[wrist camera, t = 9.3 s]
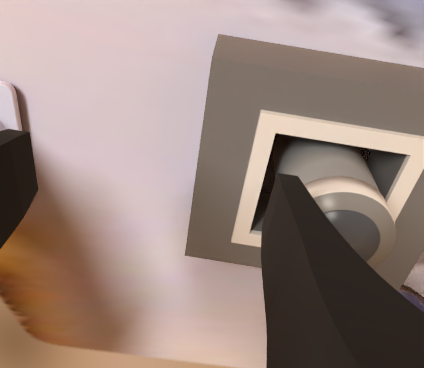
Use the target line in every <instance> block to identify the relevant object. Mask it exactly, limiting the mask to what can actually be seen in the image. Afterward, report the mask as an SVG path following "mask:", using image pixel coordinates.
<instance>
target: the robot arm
mask: <svg viewBox="0 0 424 368" xmlns="http://www.w3.org/2000/svg"><path fill="white" fill-rule="evenodd" d="M37 191H38V185H37V178H36V172H35V165H34V159H33V152H32V146H31V139H30V133H29V132H25V131H22V125H21V119H20V113H19V107H18V101H17V95H16V91H15V89H14V87H13V86H12V85H11V84H9V83H7V82H3V81H0V249H1V248H2V246H3V245H4V243H5V242H6V241H7V239H8V238H9V237H10V235H11V234H12V233H13V231H14V230H15V228H16V227H17V226H18V224H19V223H20V222H21V220H22V219H23V217H24V216H25V214H26V212H27V210H28V208H29V207H30V205H31V203H32V201H33V199H34V197H35V195H36V193H37ZM261 265H262V278H263V289H264V300H265V312H266V324H267V368H424V312H423V311H421V310H420V309H419V308H418V307H416V306H415V305H414V304H412V303H411V302H410V301H409V300H408V299H406V298H405V297H404V296H403V295H402V294H400V293H399V292H398V291H397V290H396V289H394V288H393V287H392V286H391V285H390V284H389V283H387V282H386V281H385V280H384V279H383V278H382V277H381V276H380V275H379V274H378V273H377V272H376V271H375V270H374V269H373V268H372V267H371V266H370V265H368V264H367V263H366V262H365V261H364V260H363V259H362V258H361V257H360V256H359V254H358V253H357V252H356V251H355V250H354V249H353V248H352V247H351V246H350V245H349V243H348V242H347V241H346V240H345V239H344V238H343V236H342V235H341V234H340V233H339V232H338V231H337V229H336V228H335V227H334V226H333V224H332V223H331V222H330V220H329V219H328V218H327V217H326V215H325V214H324V213H323V211H322V210H321V208H320V207H319V206H318V204H317V203H316V201H315V200H314V199H313V197H312V196H311V194H310V193H309V191H308V190H307V188H306V187H305V185H304V184H303V183H302V181H301V180H300V178H299V177H298V176H295V175H289V174H282V173H277V175H276V178H275V182H274V185H273V189H272V192H271V196H270V199H269V203H268V206H267V210H266V213H265V217H264V221H263V224H262V236H261Z"/></svg>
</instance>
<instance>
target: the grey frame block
mask: <svg viewBox="0 0 424 368" xmlns="http://www.w3.org/2000/svg"><path fill="white" fill-rule="evenodd" d="M275 133H279V134H285V135H291V136H297V137H303V138H309V139H315V140H321V141H327V142H333V143H340V144H346V145H352V146H358V147H364V148H370V149H372V150H371V152H370V154H369V157H368V159H367V161H366V163H367V166H368V168H369V170H370V172H371V174H372V176H373V178H374V181H375V183H376V185H377V187H378V189H379V191H380V193H381V194H382V196H383V197H384V199H385V201H386V203H387V205H388V207H389V209H390V212H391V214H392V216H393V218H394V221H395V227H396V242H395V245H394V248H393V249H392V251H391V253H390V254H389V256H388V257H387V258H386V259H385V260H384V261H383V262H382V263H381V264H380V265H378V266H377V267H376V268H374V270H375V271H376V272H377V273H378V274H379V275H380V276H381V277H382V278H383V279H384V280H385V281H386V282H387V283H389V284H390V285H391V286H392V287H393V288H394V289H396V290H399V289H400V287H401V286H402V284H403V282H404V281H405V279H406V278H407V276H408V275H409V273H410V271H411V270H412V268H413V267H414V265H415V264H416V262H417V261H418V259H419V257H420V256H421V254H422V253H423V251H424V68H419V67H413V66H406V65H400V64H394V63H388V62H382V61H376V60H370V59H364V58H358V57H352V56H346V55H340V54H334V53H328V52H322V51H316V50H310V49H304V48H298V47H292V46H286V45H280V44H274V43H268V42H262V41H256V40H250V39H244V38H238V37H232V36H226V35H220V34H218V38H217V42H216V45H215V49H214V52H213V56H212V61H211V69H210V76H209V83H208V91H207V98H206V105H205V112H204V120H203V127H202V134H201V142H200V149H199V156H198V163H197V171H196V178H195V185H194V193H193V200H192V207H191V214H190V222H189V229H188V236H187V244H186V251H185V255H186V256H192V257H198V258H204V259H210V260H216V261H223V262H229V263H235V264H241V265H248V266H254V267H260V268H262V265H261V236H262V224H263V221H264V217H265V213H266V210H267V206H268V203H269V199H270V196H271V193H266V192H260V191H261V187H262V183H263V179H264V176H265V172H266V168H267V164H268V160H269V156H270V153H271V149H272V145H273V141H274V137H275Z"/></svg>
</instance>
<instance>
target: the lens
mask: <svg viewBox="0 0 424 368" xmlns="http://www.w3.org/2000/svg"><path fill="white" fill-rule="evenodd" d="M273 164H274V175H275V178H276V175H277V173H282V174H289V175H295V176H298V177H299V178H300V180H301V181H302V183H303V184H304V185H305V187H306V188H307V190H308V191H309V193H310V194H311V196H312V197H313V199H314V200H315V201H316V203H317V204H318V206H319V207H320V208H321V210H322V211H323V213H324V214H325V215H326V217H327V218H328V219H329V220H330V222H331V223H332V224H333V226H334V227H335V228H336V229H337V231H338V232H339V233H340V234H341V235H342V236H343V238H344V239H345V240H346V241H347V242H348V243H349V245H350V246H351V247H352V248H353V249H354V250H355V251H356V252H357V253H358V254H359V256H360V257H361V258H362V259H363V260H364V261H365V262H366V263H367V264H368V265H370V266H371V267H372V268H373V269H374V268H376V267H377V266H378V265H380V264H381V263H382V262H383V261H384V260H385V259H386V258H387V257H388V256H389V254H390V253H391V251H392V249H393V248H394V245H395V242H396V227H395V221H394V218H393V216H392V214H391V212H390V209H389V207H388V205H387V203H386V201H385V199H384V197H383V196H382V194H381V193H380V191H379V189H378V187H377V185H376V183H375V181H374V178H373V176H372V174H371V172H370V170H369V168H368V166H367V163H366V161H365V159H364V157H363V155H362V153H361V151H360V148H359V147H358V146H352V145H346V144H340V143H333V142H327V141H321V140H315V139H309V138H303V137H297V136H291V135H285V134H280V135H279V136H278V138H277V140H276V142H275V144H274V148H273Z"/></svg>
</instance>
